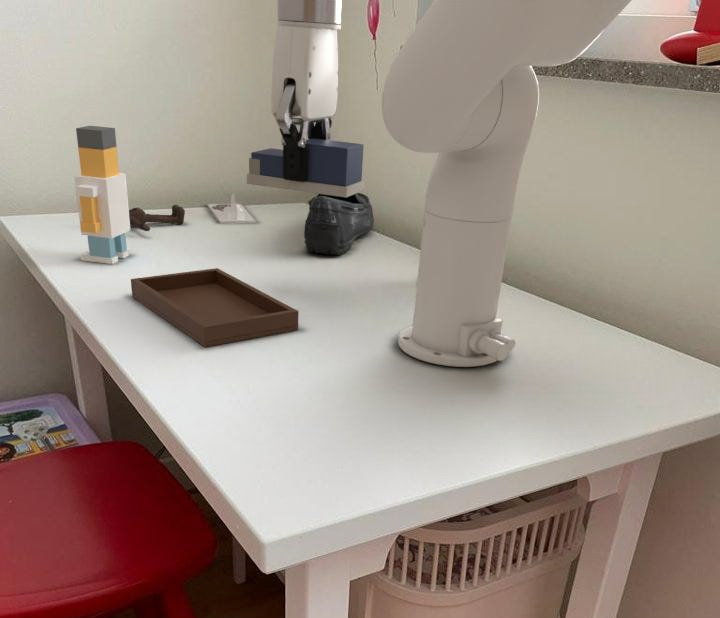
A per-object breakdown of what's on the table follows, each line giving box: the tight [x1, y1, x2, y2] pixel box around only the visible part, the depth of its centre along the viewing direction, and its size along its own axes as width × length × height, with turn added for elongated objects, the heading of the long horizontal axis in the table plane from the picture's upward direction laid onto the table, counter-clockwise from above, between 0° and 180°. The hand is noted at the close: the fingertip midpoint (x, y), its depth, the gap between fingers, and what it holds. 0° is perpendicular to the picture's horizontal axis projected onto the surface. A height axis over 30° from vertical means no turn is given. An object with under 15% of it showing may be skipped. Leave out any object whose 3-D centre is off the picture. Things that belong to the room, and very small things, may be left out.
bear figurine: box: [129, 204, 186, 232], centre depth 134 cm, size 18×4×14 cm
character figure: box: [74, 125, 131, 265], centre depth 112 cm, size 8×10×18 cm
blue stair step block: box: [246, 138, 365, 197], centre depth 99 cm, size 6×14×6 cm, turn 68°
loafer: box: [303, 192, 375, 256], centre depth 134 cm, size 10×29×10 cm, turn 174°
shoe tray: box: [130, 267, 300, 348], centre depth 97 cm, size 21×13×2 cm, turn 37°
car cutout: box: [207, 193, 257, 225], centre depth 146 cm, size 15×7×4 cm, turn 18°
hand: (305, 175), depth 99 cm, fingers closed on blue stair step block, 5 cm apart
